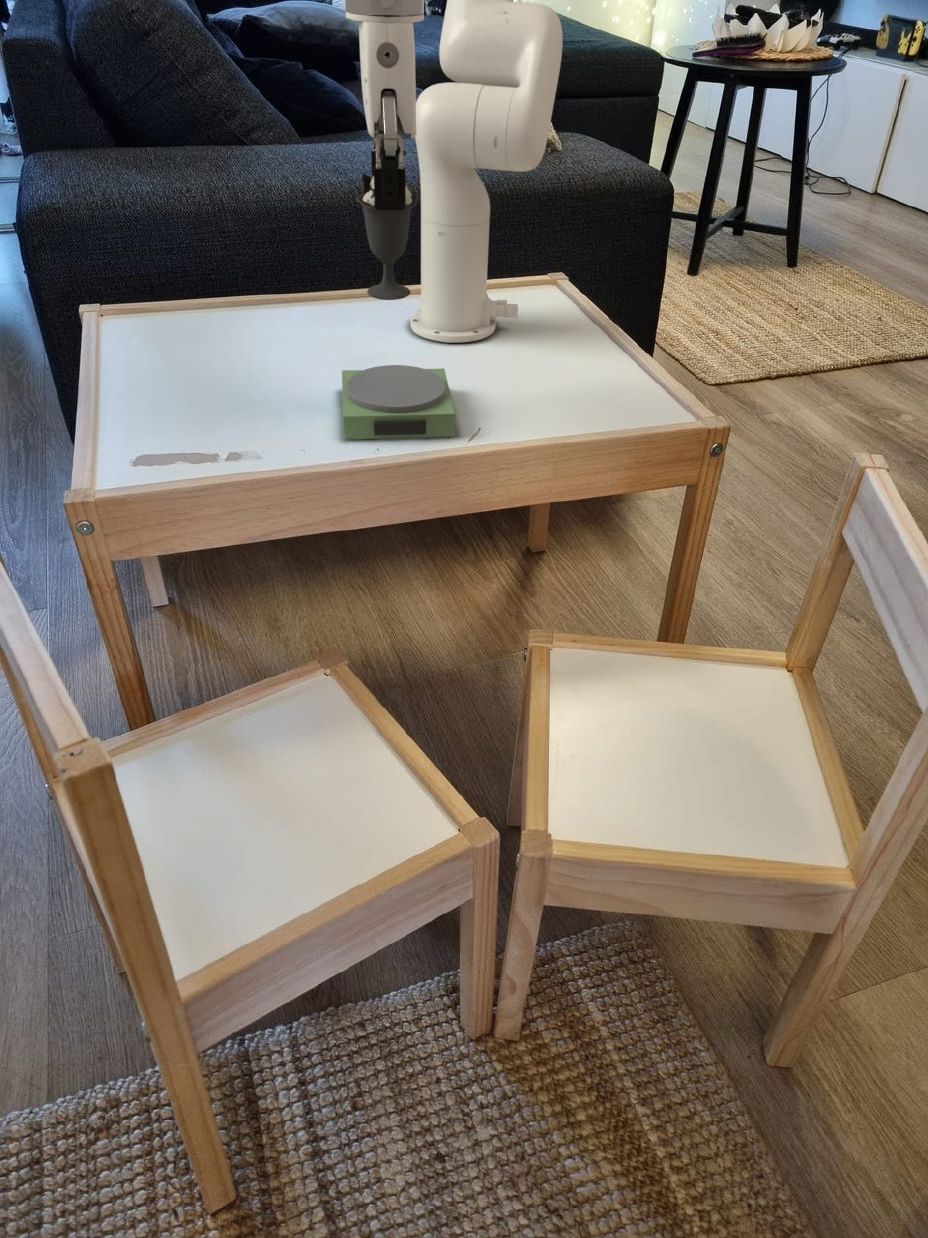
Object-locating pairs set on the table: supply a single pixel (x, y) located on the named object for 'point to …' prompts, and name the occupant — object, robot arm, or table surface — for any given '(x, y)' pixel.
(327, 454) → the table surface
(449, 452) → the table surface
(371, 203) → the sundae
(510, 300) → the table surface
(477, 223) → the robot arm
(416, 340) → the table surface
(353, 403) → the scale
